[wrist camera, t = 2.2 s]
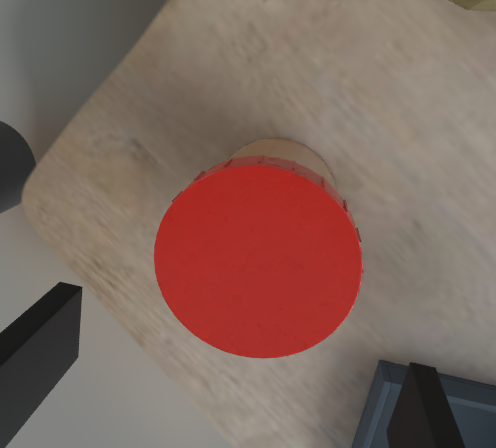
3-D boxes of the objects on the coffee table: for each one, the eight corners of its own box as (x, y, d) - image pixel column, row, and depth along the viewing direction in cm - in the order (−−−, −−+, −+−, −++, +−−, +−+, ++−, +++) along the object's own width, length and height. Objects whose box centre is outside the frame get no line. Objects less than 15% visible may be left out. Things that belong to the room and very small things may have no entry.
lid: (157, 311, 26) (143, 334, 24) (179, 136, 23) (165, 144, 20) (333, 351, 25) (334, 378, 23) (381, 177, 22) (389, 189, 20)
